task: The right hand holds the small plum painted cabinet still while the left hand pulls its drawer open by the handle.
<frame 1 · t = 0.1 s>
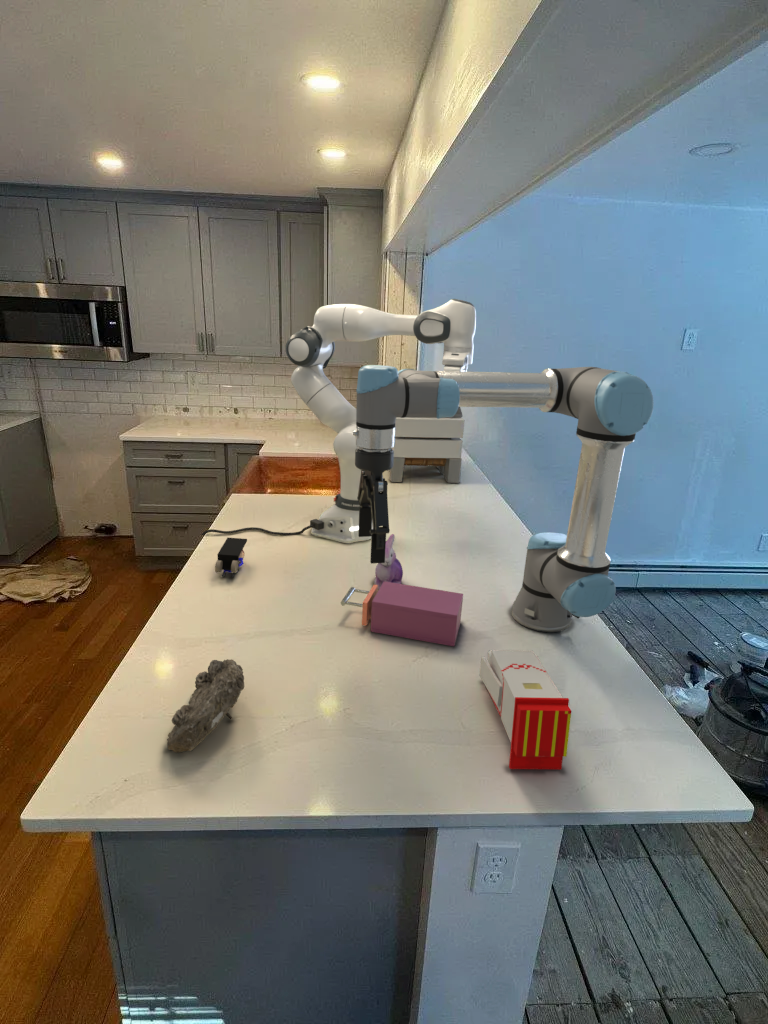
left hand: (453, 403, 174), 48 cm above the counter, tool pointing down, fingers open, 8 cm apart
right hand: (370, 548, 117), 28 cm above the counter, tool pointing down, fingers open, 13 cm apart
cabinet: (416, 627, 142), on the counter
drawer: (393, 608, 142), point 4 cm above the counter, slide at 1.3 cm
fossil: (212, 717, 108), on the counter
figurine character: (232, 569, 168), on the counter
figurine: (387, 584, 163), on the counter
transformer: (419, 473, 275), on the counter
toy: (515, 717, 112), on the counter
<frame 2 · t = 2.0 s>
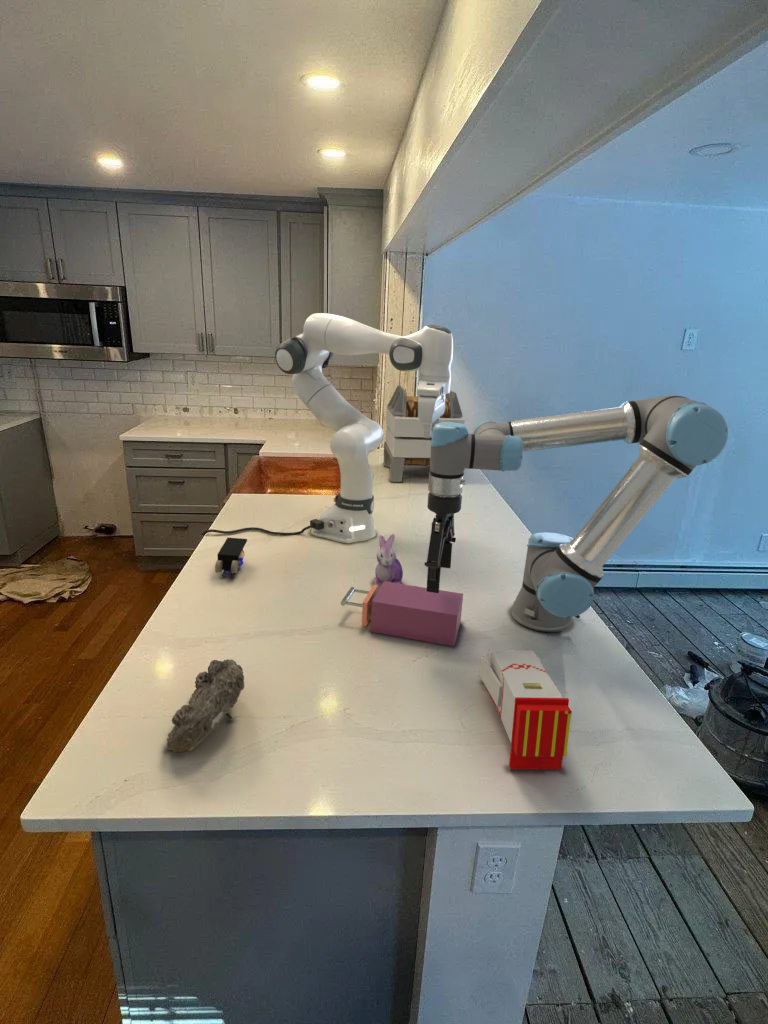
left hand: (431, 434, 164), 41 cm above the counter, tool pointing down, fingers open, 8 cm apart
right hand: (439, 579, 133), 15 cm above the counter, tool pointing down, fingers open, 13 cm apart
nothing on the counter moved.
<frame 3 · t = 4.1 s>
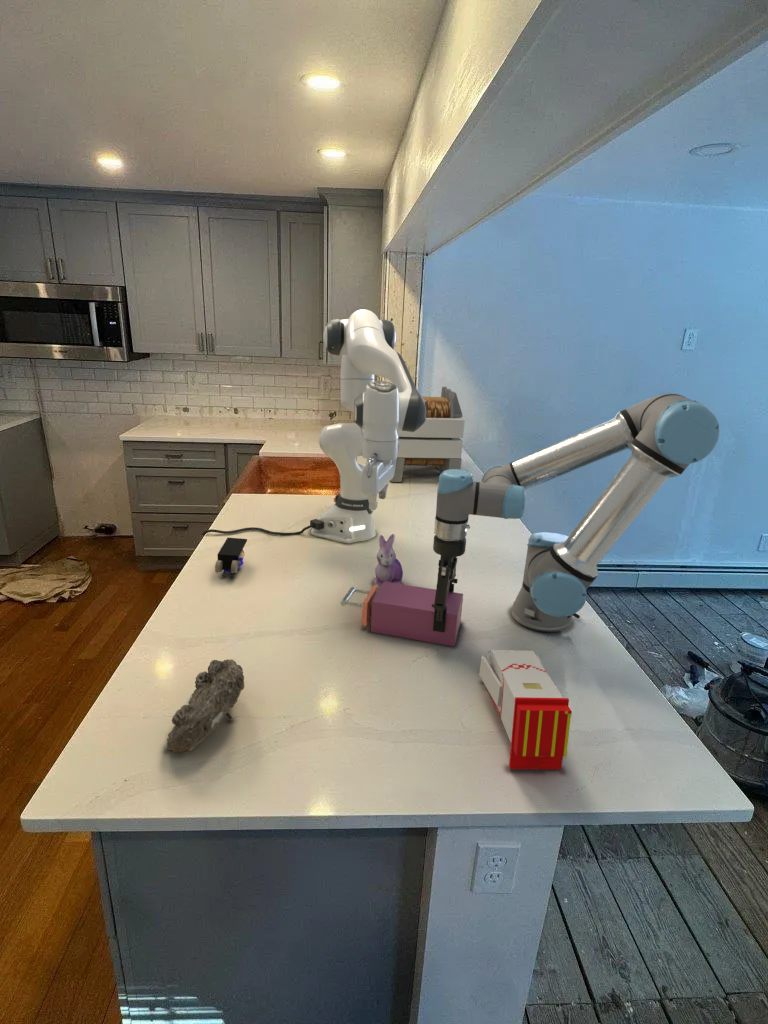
left hand: (377, 503, 143), 28 cm above the counter, tool pointing down, fingers open, 8 cm apart
right hand: (442, 618, 139), 4 cm above the counter, tool pointing down, fingers closed on cabinet, 11 cm apart
cabinet: (416, 627, 142), on the counter, touching right hand
everything else where it was.
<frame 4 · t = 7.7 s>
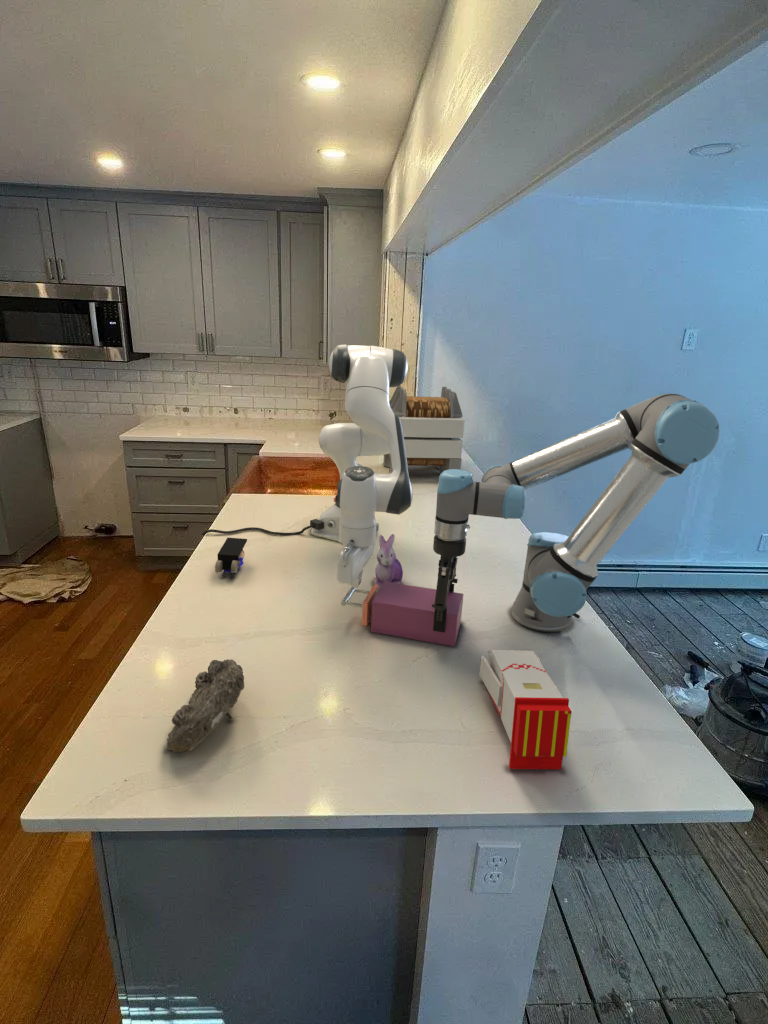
left hand: (356, 585, 142), 9 cm above the counter, tool pointing down, fingers closed
right hand: (443, 618, 139), 4 cm above the counter, tool pointing down, fingers closed on cabinet, 11 cm apart
cabinet: (416, 627, 142), on the counter, touching right hand
everything else where it was.
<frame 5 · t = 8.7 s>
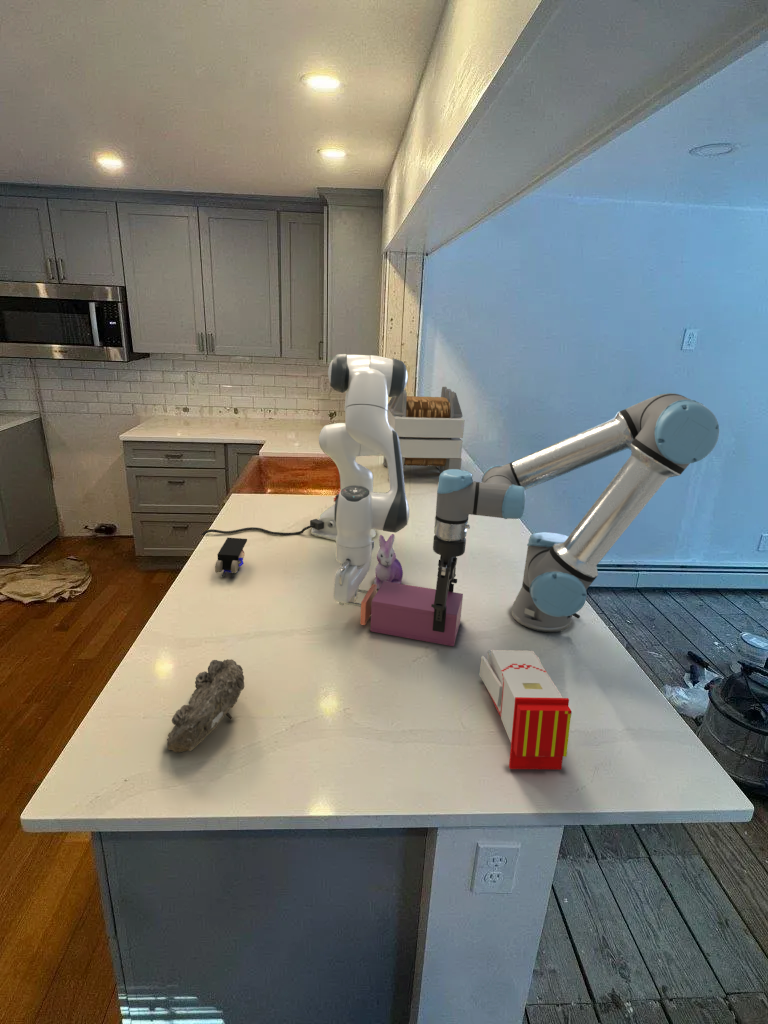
left hand: (352, 601, 144), 4 cm above the counter, tool pointing down, fingers closed, pressing on drawer
right hand: (442, 618, 139), 4 cm above the counter, tool pointing down, fingers closed on cabinet, 11 cm apart
cabinet: (416, 627, 142), on the counter, touching right hand
drawer: (391, 608, 142), point 4 cm above the counter, slide at 1.6 cm, touching left hand
everything else where it was.
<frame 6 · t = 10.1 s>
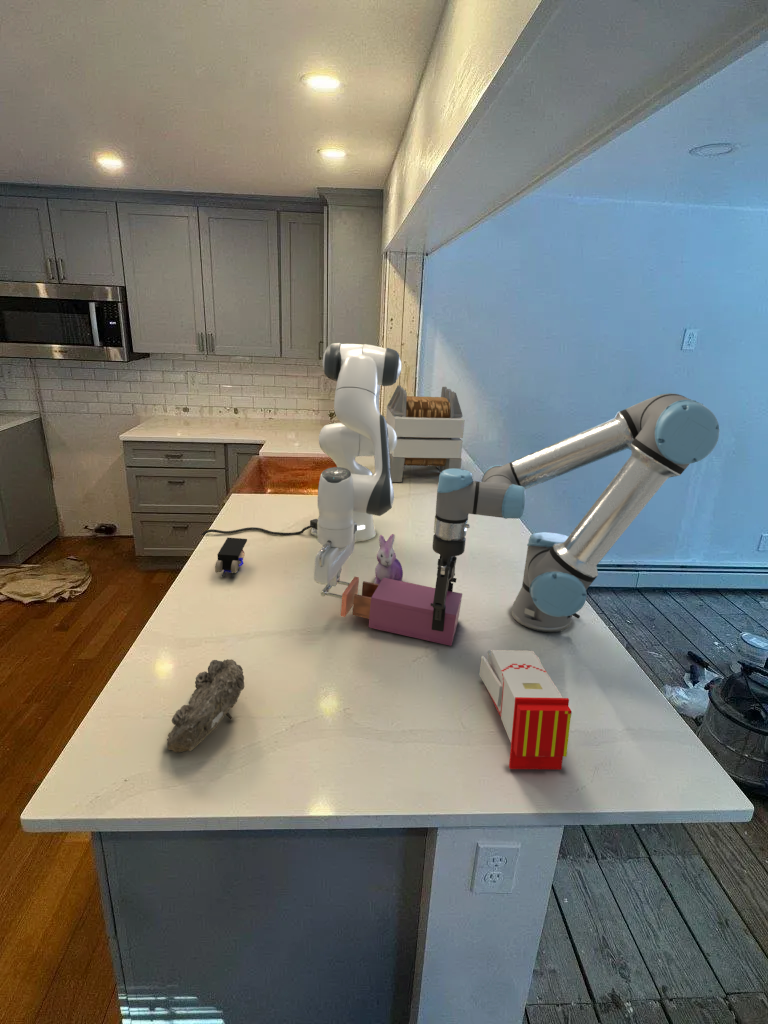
left hand: (334, 583, 144), 8 cm above the counter, tool pointing down, fingers closed
right hand: (441, 617, 139), 4 cm above the counter, tool pointing down, fingers closed on cabinet, 11 cm apart
cabinet: (414, 624, 142), point 1 cm above the counter, touching right hand
drawer: (372, 601, 143), point 5 cm above the counter, slide at 6.3 cm
everything else where it was.
when the right hand's fingers open (4 cm above the counter, at t = 11.5 s): cabinet stays where it is, on the counter.
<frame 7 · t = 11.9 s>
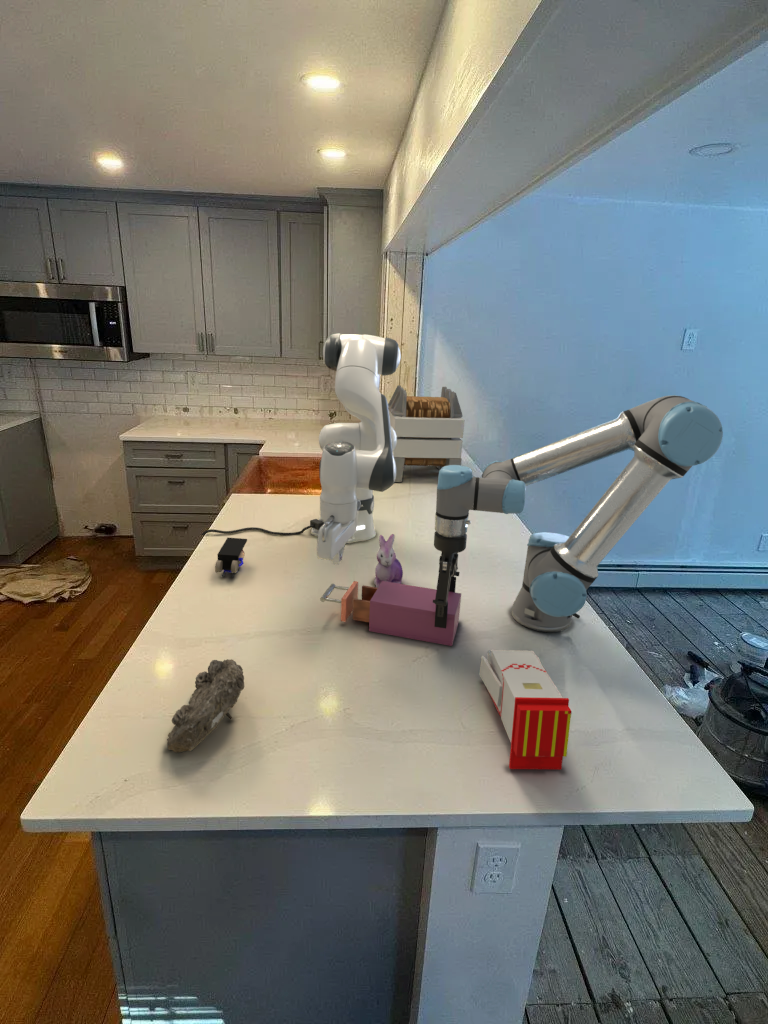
left hand: (337, 562, 142), 15 cm above the counter, tool pointing down, fingers closed
right hand: (444, 612, 138), 5 cm above the counter, tool pointing down, fingers open, 13 cm apart
cabinet: (414, 626, 142), on the counter
drawer: (372, 604, 143), point 4 cm above the counter, slide at 6.3 cm
everything else where it was.
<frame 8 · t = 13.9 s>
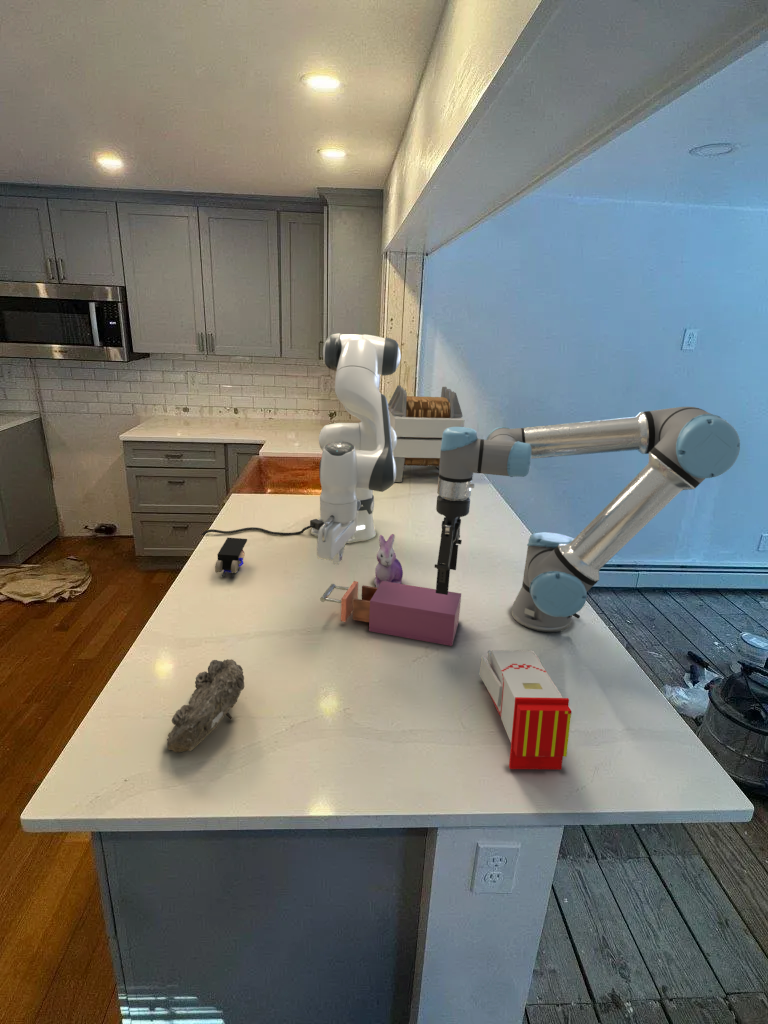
left hand: (337, 562, 142), 15 cm above the counter, tool pointing down, fingers closed
right hand: (446, 580, 136), 14 cm above the counter, tool pointing down, fingers open, 13 cm apart
nothing on the counter moved.
at the end: drawer slide at 6.3 cm; cabinet tilted 0°; cabinet never tilted more than 3° during the clip; cabinet moved 0.5 cm from its start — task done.
